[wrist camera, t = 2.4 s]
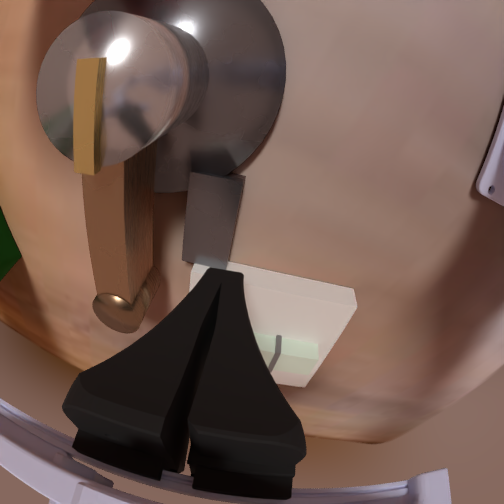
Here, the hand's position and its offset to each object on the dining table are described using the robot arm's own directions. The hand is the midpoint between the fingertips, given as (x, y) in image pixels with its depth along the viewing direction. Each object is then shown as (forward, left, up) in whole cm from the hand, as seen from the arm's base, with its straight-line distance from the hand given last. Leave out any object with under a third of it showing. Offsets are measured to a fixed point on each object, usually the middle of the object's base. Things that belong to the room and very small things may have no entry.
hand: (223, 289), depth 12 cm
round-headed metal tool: (+5, -3, -4) cm, 7 cm away
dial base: (+5, -5, -4) cm, 8 cm away
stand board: (-3, +6, -4) cm, 8 cm away
